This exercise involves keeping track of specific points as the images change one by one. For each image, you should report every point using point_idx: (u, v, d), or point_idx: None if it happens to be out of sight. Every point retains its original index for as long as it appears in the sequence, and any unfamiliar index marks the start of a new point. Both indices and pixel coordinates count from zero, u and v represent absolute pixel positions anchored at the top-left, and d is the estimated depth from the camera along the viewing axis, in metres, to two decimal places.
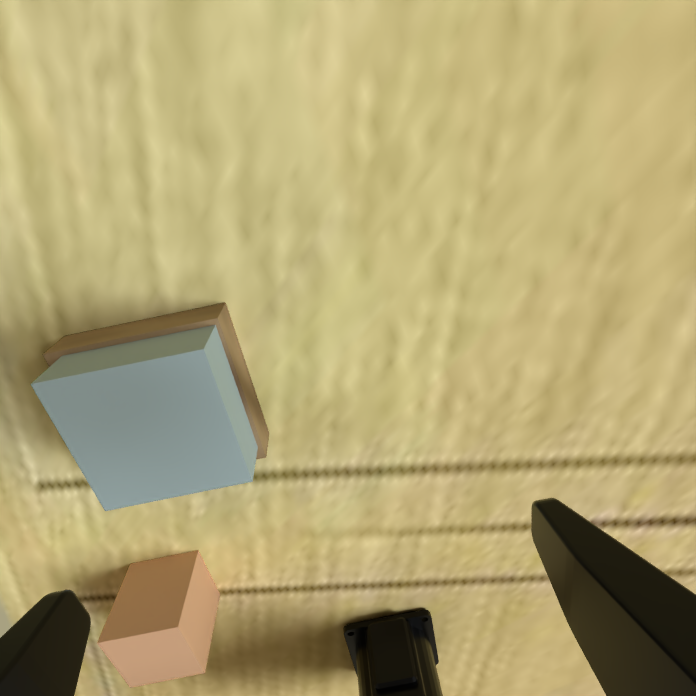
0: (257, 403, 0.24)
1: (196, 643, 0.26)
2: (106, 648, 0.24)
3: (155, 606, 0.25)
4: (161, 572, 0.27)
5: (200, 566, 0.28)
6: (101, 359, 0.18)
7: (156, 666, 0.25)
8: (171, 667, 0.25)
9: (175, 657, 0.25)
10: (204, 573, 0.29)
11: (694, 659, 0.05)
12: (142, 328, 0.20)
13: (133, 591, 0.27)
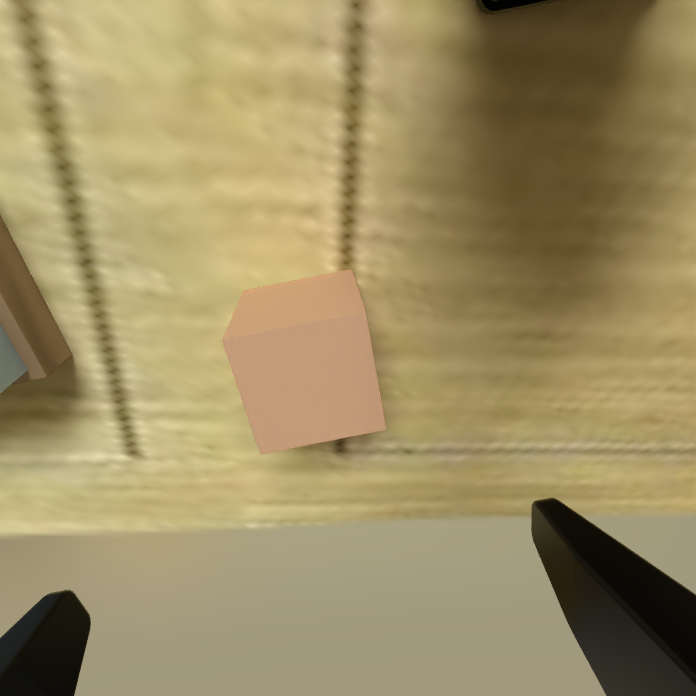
0: None
1: (305, 316, 0.14)
2: (275, 445, 0.15)
3: None
4: None
5: (261, 290, 0.17)
6: None
7: (333, 385, 0.15)
8: (338, 363, 0.14)
9: (309, 354, 0.14)
10: (280, 286, 0.18)
11: (694, 659, 0.05)
12: None
13: None
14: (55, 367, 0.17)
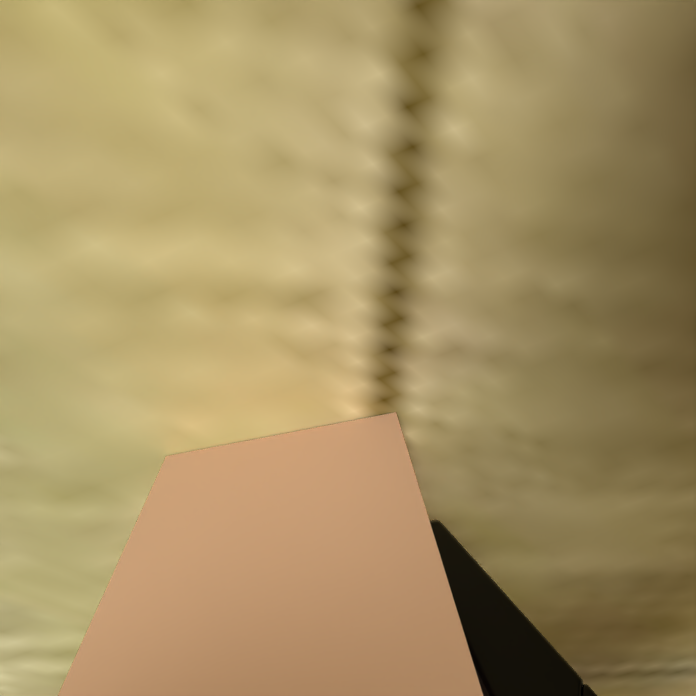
0: None
1: (288, 688, 0.05)
2: None
3: None
4: None
5: (200, 470, 0.08)
6: None
7: None
8: None
9: None
10: (242, 460, 0.08)
11: (508, 693, 0.05)
12: None
13: None
14: None
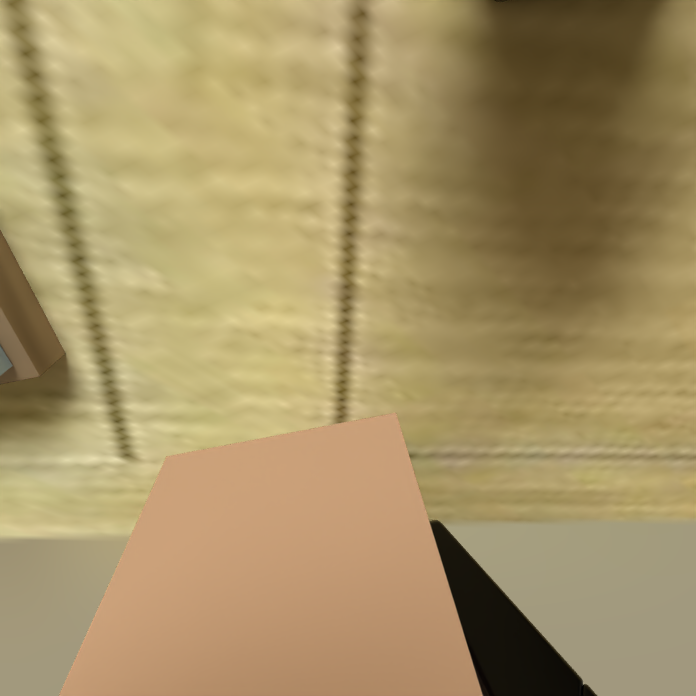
0: None
1: (287, 687, 0.05)
2: None
3: None
4: None
5: (200, 470, 0.08)
6: None
7: None
8: None
9: None
10: (243, 461, 0.08)
11: (508, 694, 0.05)
12: None
13: None
14: (48, 365, 0.17)
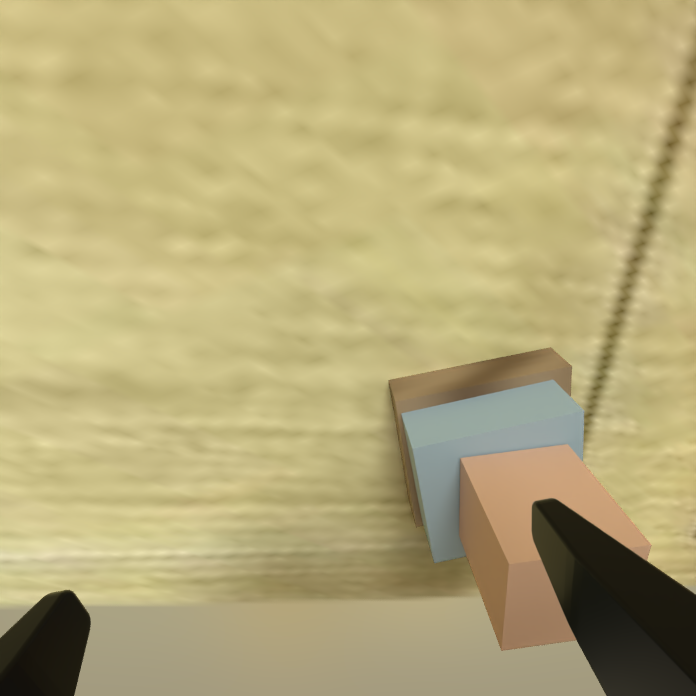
0: (506, 359, 0.21)
1: None
2: (518, 643, 0.16)
3: (489, 559, 0.16)
4: (468, 517, 0.18)
5: (485, 465, 0.18)
6: (422, 509, 0.21)
7: None
8: None
9: None
10: (504, 462, 0.18)
11: (694, 659, 0.05)
12: (403, 454, 0.22)
13: (475, 562, 0.18)
14: None
